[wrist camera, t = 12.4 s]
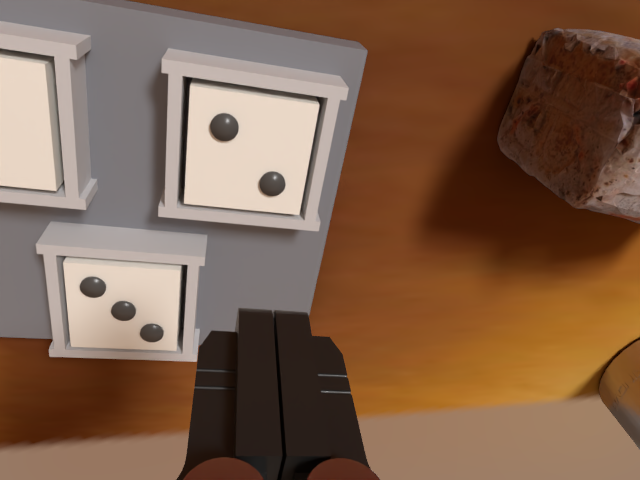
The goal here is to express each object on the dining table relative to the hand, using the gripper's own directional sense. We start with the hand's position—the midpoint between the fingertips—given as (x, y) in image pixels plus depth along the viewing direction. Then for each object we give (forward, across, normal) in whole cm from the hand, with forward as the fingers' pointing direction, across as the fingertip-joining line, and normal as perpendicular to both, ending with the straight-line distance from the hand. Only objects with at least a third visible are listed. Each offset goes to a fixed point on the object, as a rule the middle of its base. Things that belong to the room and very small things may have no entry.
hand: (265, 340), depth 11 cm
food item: (+16, -19, -3) cm, 25 cm away
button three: (+13, +5, +9) cm, 16 cm away
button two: (+13, 0, 0) cm, 13 cm away
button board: (+15, +5, +4) cm, 17 cm away
